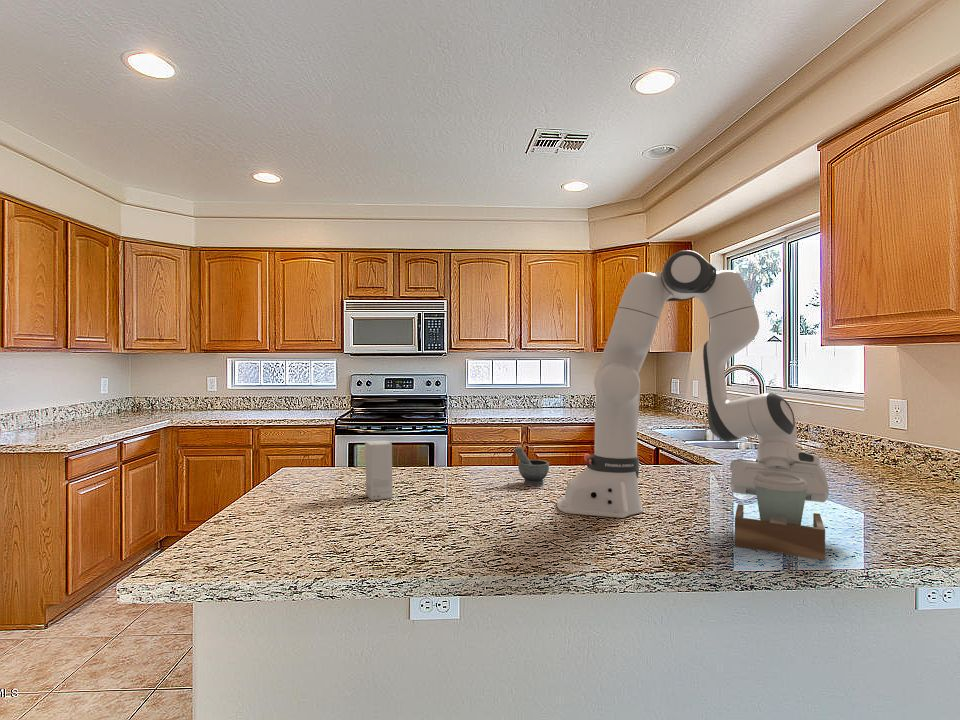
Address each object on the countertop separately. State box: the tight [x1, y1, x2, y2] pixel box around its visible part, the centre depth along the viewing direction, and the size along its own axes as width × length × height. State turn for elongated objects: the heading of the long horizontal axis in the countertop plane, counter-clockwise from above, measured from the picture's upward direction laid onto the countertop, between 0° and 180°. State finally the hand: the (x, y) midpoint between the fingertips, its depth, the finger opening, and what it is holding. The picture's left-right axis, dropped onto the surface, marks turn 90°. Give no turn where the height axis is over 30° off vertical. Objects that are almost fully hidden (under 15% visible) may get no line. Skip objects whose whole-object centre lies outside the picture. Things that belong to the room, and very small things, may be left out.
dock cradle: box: [734, 503, 826, 561], centre depth 119 cm, size 13×16×7 cm
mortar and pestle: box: [514, 446, 550, 487], centre depth 174 cm, size 11×9×12 cm
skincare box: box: [364, 440, 394, 501], centre depth 157 cm, size 8×7×16 cm
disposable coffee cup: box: [753, 470, 808, 525], centre depth 119 cm, size 11×11×15 cm
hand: (778, 511), depth 124 cm, fingers closed, pressing on disposable coffee cup
